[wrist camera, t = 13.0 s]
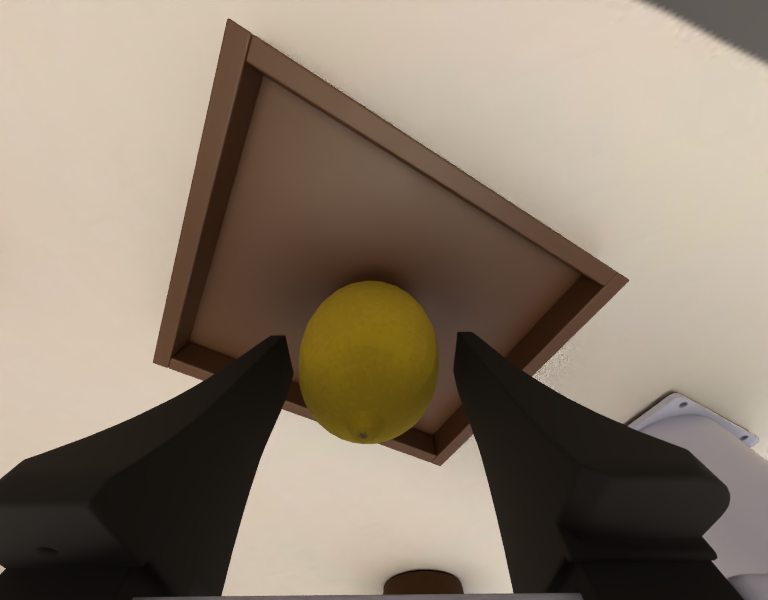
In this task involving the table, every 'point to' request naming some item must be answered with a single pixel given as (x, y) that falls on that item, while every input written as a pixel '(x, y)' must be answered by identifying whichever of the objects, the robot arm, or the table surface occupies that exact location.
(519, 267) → the tray
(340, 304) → the lemon
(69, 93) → the table surface
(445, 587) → the olive oil
